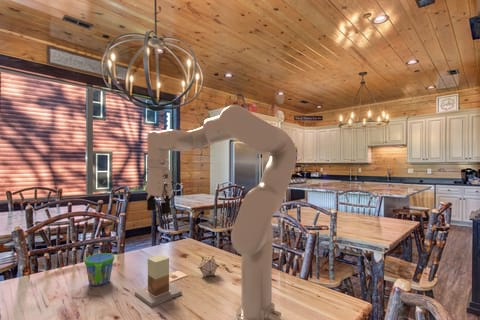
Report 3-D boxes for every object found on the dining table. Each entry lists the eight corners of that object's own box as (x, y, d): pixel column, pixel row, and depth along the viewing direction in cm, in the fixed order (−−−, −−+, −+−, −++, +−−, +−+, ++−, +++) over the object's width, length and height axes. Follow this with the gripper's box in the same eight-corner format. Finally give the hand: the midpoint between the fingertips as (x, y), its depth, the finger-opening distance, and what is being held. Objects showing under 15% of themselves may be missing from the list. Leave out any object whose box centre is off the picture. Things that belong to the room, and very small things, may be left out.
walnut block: (169, 290, 100) (169, 274, 100) (155, 296, 96) (155, 279, 96) (161, 286, 104) (161, 270, 104) (147, 291, 100) (147, 274, 100)
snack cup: (111, 289, 104) (111, 262, 104) (79, 293, 101) (79, 266, 101) (116, 273, 119) (116, 249, 119) (89, 276, 115) (89, 252, 115)
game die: (211, 286, 114) (214, 273, 109) (193, 277, 116) (195, 263, 110) (220, 269, 122) (223, 255, 116) (203, 260, 123) (205, 247, 117)
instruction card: (187, 275, 116) (187, 274, 116) (166, 283, 109) (166, 282, 109) (178, 271, 121) (178, 270, 121) (157, 278, 113) (157, 277, 113)
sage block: (169, 274, 100) (169, 258, 100) (155, 279, 96) (155, 262, 96) (161, 270, 104) (161, 254, 104) (147, 274, 100) (147, 258, 100)
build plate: (181, 294, 100) (181, 290, 100) (151, 307, 91) (151, 303, 91) (164, 284, 108) (164, 280, 108) (134, 294, 100) (134, 291, 100)
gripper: (180, 165, 97) (180, 213, 97) (155, 164, 108) (155, 207, 108) (161, 165, 91) (161, 216, 91) (137, 164, 103) (137, 210, 103)
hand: (158, 211), depth 100 cm, fingers open, 9 cm apart
